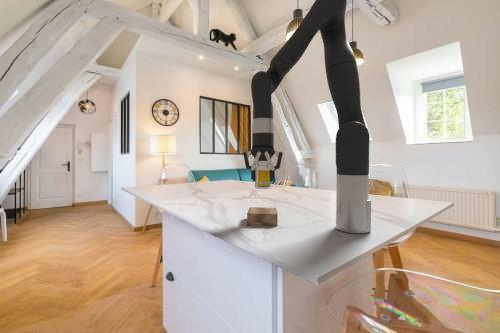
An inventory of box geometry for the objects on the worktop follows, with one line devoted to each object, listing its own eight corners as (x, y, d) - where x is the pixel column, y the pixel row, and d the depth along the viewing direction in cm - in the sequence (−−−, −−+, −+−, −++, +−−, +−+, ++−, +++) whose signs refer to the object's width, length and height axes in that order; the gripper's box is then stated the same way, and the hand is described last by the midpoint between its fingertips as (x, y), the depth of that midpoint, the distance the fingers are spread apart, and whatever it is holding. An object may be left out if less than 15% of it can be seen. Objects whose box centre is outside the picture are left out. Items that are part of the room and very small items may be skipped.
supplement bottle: (251, 188, 82) (252, 160, 82) (263, 186, 85) (263, 160, 85) (262, 189, 78) (262, 160, 77) (273, 188, 81) (273, 160, 81)
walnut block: (276, 218, 87) (276, 207, 86) (277, 226, 77) (277, 214, 76) (249, 217, 87) (249, 207, 87) (247, 225, 77) (247, 213, 77)
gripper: (283, 133, 84) (282, 180, 85) (243, 134, 85) (243, 180, 86) (284, 131, 77) (284, 182, 77) (241, 131, 78) (241, 182, 78)
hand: (262, 181), depth 81 cm, fingers closed on supplement bottle, 5 cm apart
